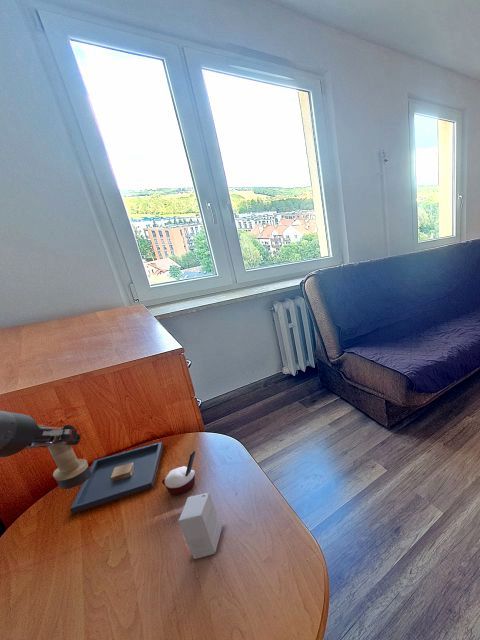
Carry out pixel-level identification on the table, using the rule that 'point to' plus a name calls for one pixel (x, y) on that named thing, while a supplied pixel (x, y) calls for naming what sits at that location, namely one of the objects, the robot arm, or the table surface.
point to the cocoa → (180, 478)
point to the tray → (105, 490)
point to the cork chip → (122, 472)
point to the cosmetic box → (200, 525)
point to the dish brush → (68, 466)
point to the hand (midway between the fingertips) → (67, 441)
